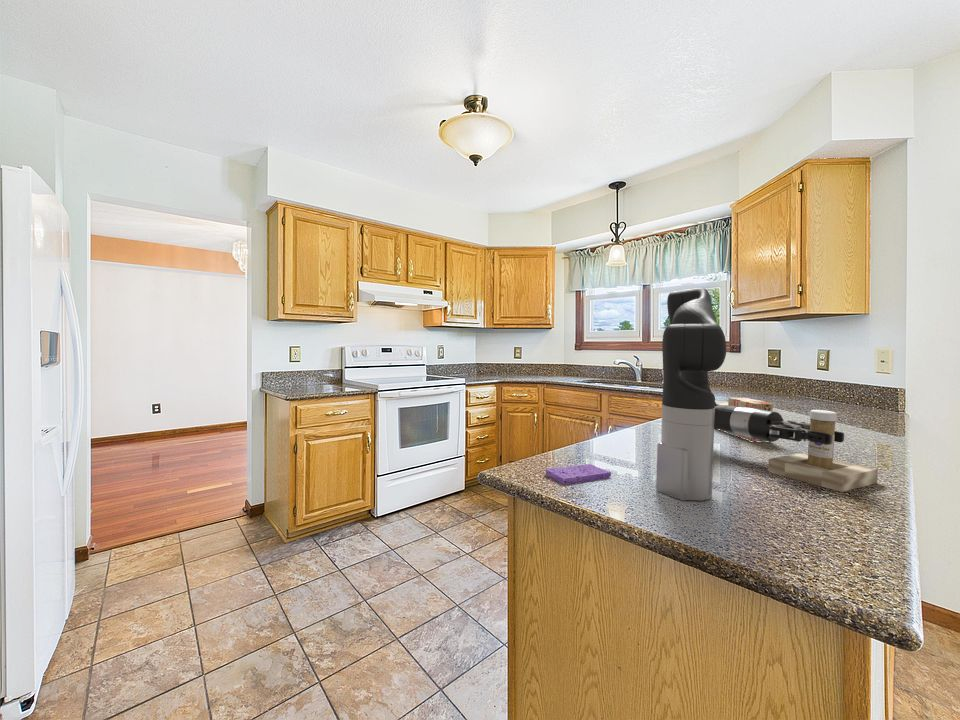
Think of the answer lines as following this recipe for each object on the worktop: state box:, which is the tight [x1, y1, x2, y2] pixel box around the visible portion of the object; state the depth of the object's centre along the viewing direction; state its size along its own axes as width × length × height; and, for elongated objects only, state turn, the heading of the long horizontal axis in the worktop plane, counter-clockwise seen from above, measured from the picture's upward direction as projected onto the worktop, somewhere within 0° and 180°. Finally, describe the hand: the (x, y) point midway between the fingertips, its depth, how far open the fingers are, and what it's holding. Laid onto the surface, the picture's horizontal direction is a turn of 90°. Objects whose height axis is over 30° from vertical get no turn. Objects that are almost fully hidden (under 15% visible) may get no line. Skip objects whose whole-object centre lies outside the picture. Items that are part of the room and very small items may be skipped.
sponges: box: [545, 463, 612, 485], centre depth 89 cm, size 7×13×2 cm, turn 113°
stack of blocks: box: [716, 397, 774, 441], centre depth 134 cm, size 21×6×12 cm, turn 0°
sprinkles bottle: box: [807, 409, 838, 470], centre depth 90 cm, size 5×5×13 cm
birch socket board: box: [767, 452, 879, 493], centre depth 90 cm, size 14×14×3 cm
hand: (836, 438), depth 88 cm, fingers closed on sprinkles bottle, 4 cm apart
